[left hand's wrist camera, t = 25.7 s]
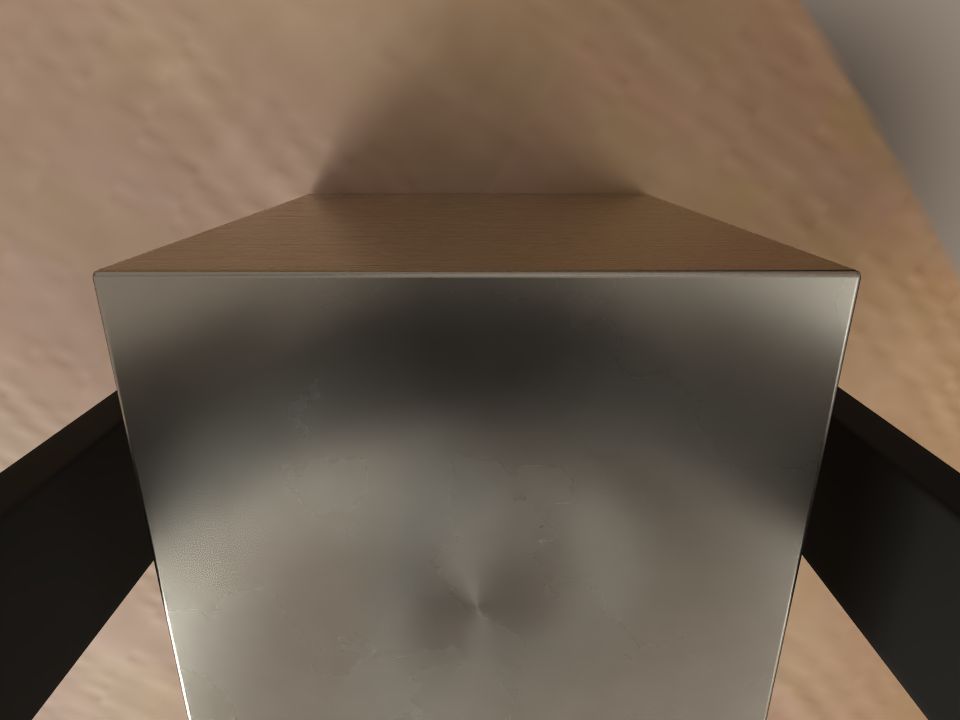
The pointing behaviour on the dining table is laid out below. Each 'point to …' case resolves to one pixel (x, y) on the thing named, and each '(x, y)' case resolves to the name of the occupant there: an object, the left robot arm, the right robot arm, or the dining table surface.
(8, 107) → the dining table surface
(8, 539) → the left robot arm
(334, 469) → the grey metal cube
